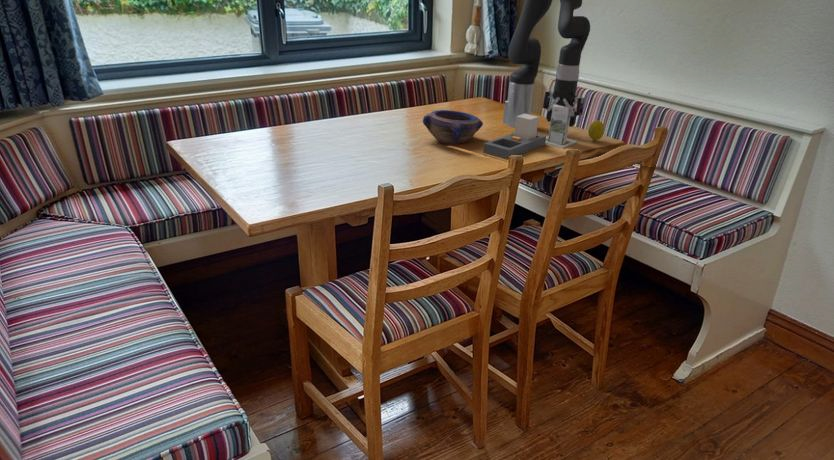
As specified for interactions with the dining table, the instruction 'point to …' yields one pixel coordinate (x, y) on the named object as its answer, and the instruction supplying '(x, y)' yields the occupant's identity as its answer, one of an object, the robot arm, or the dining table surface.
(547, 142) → the tray
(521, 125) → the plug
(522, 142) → the socket strip
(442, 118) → the bowl
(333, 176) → the dining table surface
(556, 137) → the syrup box
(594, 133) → the lemon
